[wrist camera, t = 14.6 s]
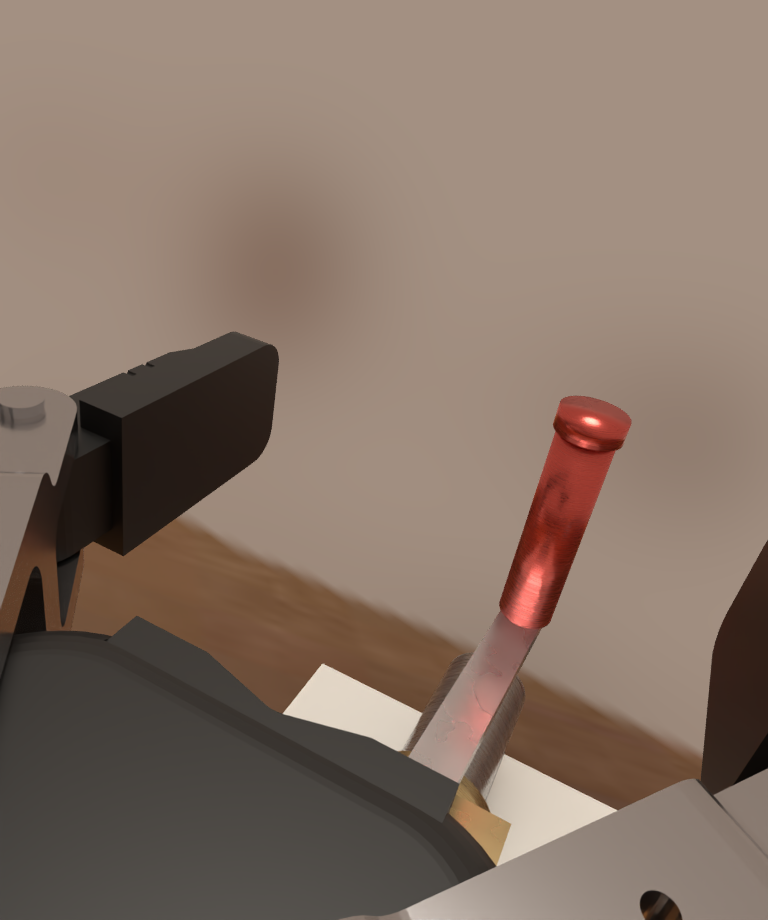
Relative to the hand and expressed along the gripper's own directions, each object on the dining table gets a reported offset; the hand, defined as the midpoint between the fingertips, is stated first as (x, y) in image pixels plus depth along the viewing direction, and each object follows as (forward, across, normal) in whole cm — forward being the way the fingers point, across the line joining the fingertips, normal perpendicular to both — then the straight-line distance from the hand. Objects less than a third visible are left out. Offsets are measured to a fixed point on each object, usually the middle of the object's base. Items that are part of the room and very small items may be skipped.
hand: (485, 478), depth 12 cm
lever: (+12, 0, +19) cm, 23 cm away
